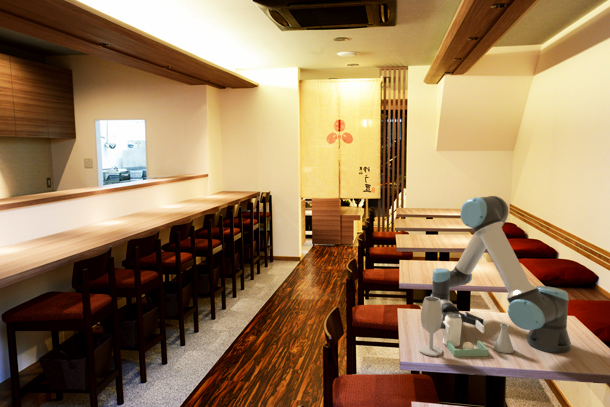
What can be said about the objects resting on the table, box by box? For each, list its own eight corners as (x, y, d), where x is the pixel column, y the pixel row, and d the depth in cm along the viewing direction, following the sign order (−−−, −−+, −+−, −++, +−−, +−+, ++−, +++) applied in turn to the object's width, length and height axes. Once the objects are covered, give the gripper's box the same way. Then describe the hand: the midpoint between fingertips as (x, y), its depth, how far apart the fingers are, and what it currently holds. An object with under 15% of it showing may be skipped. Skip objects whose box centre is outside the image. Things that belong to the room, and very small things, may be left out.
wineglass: (415, 352, 171) (416, 299, 168) (425, 345, 177) (426, 293, 175) (436, 359, 165) (438, 304, 163) (446, 351, 172) (447, 298, 169)
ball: (475, 352, 170) (474, 341, 171) (472, 353, 167) (471, 342, 168) (464, 352, 172) (463, 341, 173) (461, 352, 169) (460, 342, 170)
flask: (510, 346, 175) (511, 321, 174) (516, 354, 168) (518, 328, 167) (491, 345, 176) (491, 321, 175) (497, 353, 169) (498, 328, 168)
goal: (446, 347, 175) (446, 341, 174) (479, 346, 175) (479, 340, 175) (453, 356, 167) (454, 350, 166) (488, 356, 167) (488, 349, 167)
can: (459, 348, 174) (462, 319, 172) (442, 345, 176) (445, 316, 174) (459, 342, 180) (462, 313, 178) (442, 339, 182) (445, 311, 180)
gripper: (475, 318, 193) (497, 339, 172) (419, 319, 193) (434, 340, 172) (476, 302, 192) (498, 320, 171) (419, 302, 192) (434, 321, 171)
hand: (466, 330), depth 171 cm, fingers open, 13 cm apart
